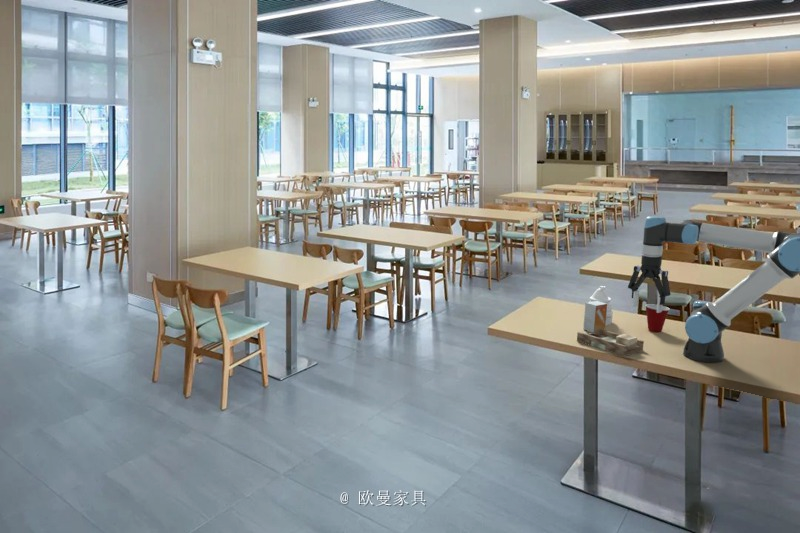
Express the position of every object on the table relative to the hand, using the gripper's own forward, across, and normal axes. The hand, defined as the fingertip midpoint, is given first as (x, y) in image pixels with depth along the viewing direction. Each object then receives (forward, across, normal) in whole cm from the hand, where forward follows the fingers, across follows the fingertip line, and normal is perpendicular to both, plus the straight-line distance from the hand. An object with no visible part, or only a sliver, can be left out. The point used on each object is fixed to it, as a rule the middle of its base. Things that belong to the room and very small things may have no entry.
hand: (646, 309), depth 259 cm
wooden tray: (+20, +16, 0) cm, 25 cm away
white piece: (+20, +42, -28) cm, 54 cm away
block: (+18, +8, 0) cm, 19 cm away
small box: (+20, +34, -14) cm, 42 cm away
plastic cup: (+20, +17, -37) cm, 45 cm away
